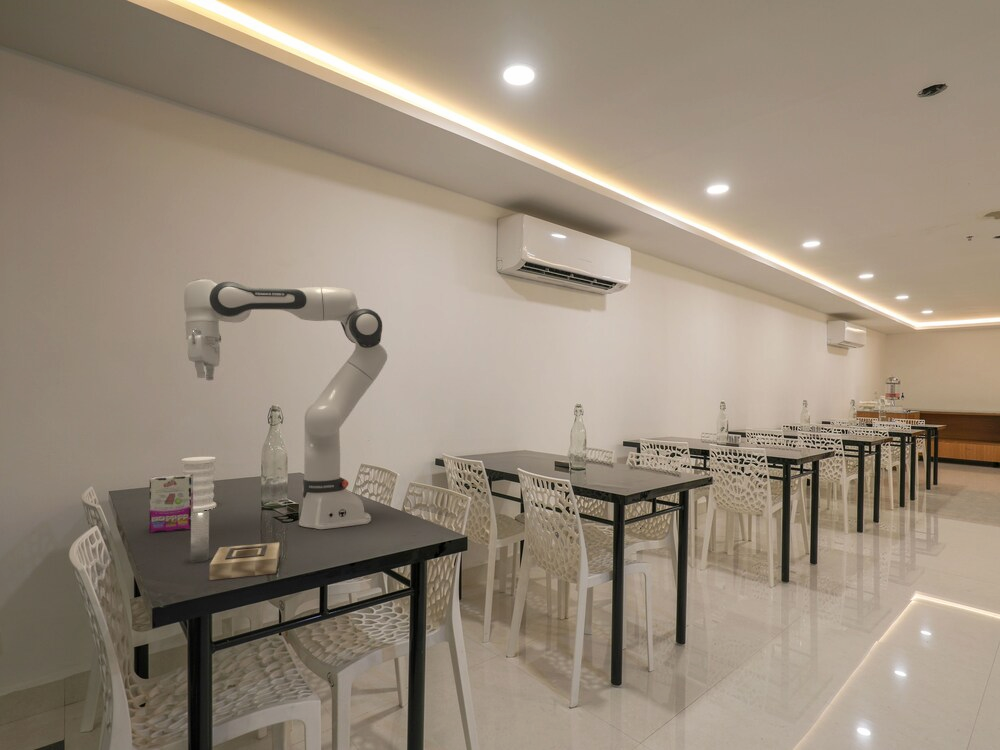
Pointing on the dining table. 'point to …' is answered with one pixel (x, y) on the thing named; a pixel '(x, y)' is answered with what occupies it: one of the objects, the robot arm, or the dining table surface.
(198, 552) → the aluminium pin
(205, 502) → the decorative container
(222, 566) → the socket block
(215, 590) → the dining table surface
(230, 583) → the dining table surface
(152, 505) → the candy bar box
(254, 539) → the dining table surface
